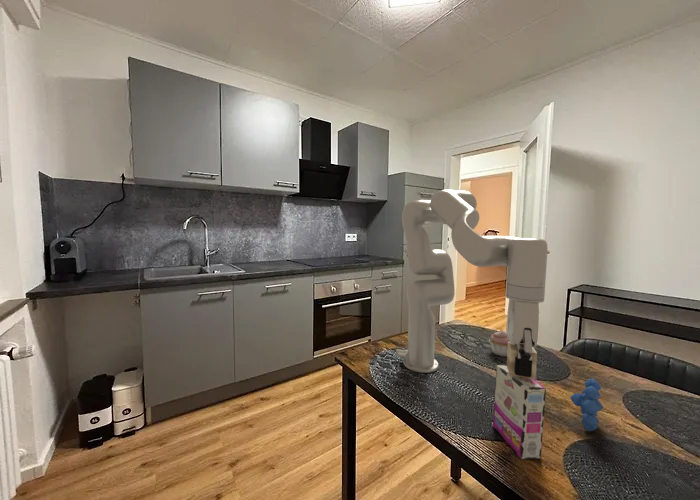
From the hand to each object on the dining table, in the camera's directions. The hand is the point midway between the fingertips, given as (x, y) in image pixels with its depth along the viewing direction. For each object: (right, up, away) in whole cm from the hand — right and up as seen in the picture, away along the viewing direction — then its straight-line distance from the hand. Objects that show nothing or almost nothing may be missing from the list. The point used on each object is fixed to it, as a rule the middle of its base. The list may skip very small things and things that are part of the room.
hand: (520, 368), depth 67 cm
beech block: (0, -1, 0) cm, 1 cm away
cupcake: (+21, -15, +50) cm, 56 cm away
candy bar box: (0, -18, +2) cm, 18 cm away
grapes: (+22, -18, +8) cm, 29 cm away
